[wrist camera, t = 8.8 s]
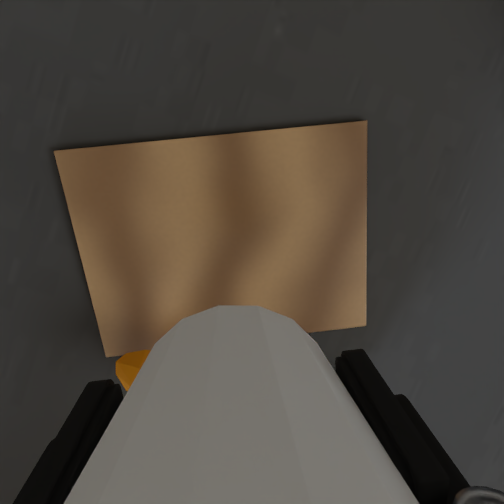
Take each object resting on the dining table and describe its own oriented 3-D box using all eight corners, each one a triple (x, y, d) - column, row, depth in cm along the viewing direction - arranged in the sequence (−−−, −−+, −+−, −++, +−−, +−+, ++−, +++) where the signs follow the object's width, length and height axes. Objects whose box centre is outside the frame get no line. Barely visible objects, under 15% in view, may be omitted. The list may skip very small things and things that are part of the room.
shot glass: (312, 487, 12) (420, 931, 5) (107, 461, 11) (-85, 955, 4) (378, 308, 10) (682, 640, 3) (136, 261, 9) (-124, 581, 2)
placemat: (107, 354, 26) (105, 357, 26) (56, 150, 22) (53, 150, 22) (364, 323, 27) (366, 326, 27) (365, 120, 23) (367, 120, 22)
